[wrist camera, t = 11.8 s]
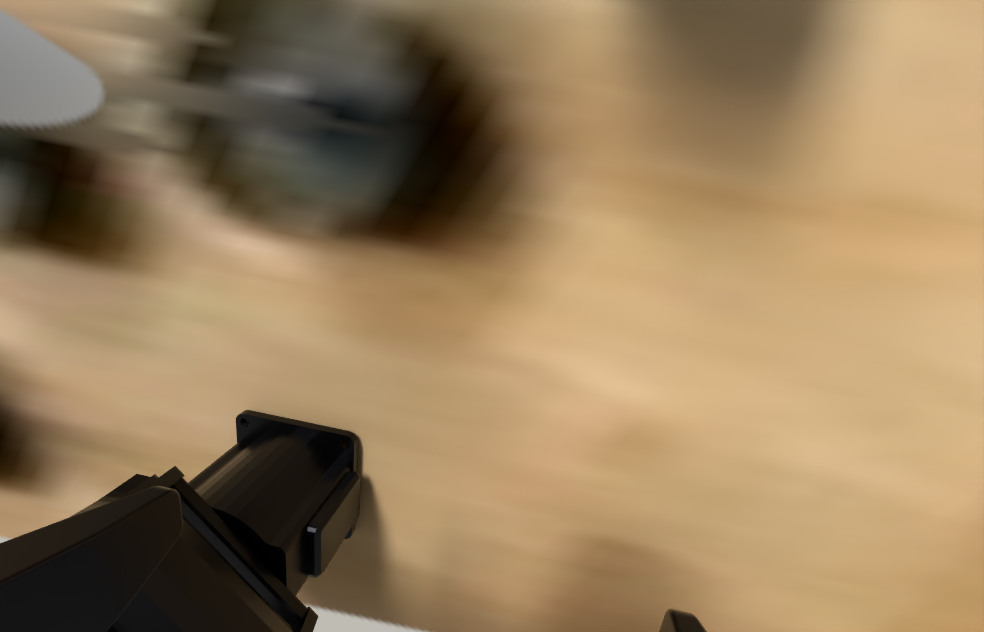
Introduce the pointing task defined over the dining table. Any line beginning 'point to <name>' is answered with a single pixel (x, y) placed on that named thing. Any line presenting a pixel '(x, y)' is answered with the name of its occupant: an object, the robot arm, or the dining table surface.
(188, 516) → the robot arm
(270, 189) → the dining table surface
